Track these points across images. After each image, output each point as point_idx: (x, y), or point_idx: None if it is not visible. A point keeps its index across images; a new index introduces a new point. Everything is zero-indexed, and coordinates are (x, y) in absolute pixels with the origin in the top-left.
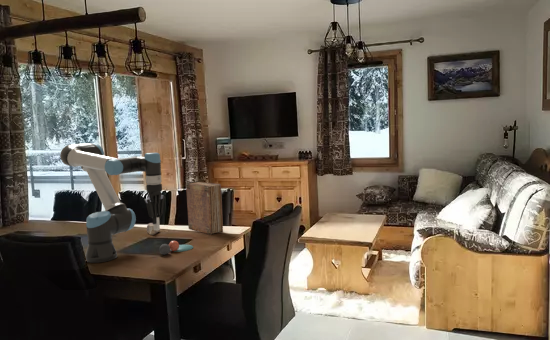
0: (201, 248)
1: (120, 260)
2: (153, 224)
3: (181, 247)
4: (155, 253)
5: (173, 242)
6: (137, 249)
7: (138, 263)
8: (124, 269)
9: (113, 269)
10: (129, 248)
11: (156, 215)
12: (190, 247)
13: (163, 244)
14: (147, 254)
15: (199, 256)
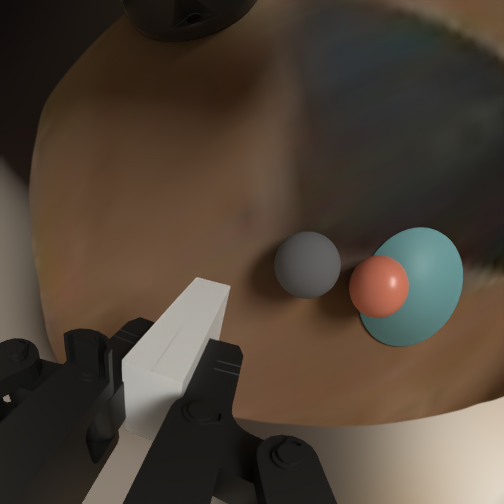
0: (402, 378)
1: (171, 77)
2: (173, 303)
3: (421, 289)
4: (316, 190)
5: (371, 302)
6: (367, 59)
7: (139, 194)
8: (71, 184)
9: (67, 140)
10: (370, 20)
11: (102, 452)
12: (417, 332)
13: (303, 270)
14: (291, 152)
15: (285, 414)
